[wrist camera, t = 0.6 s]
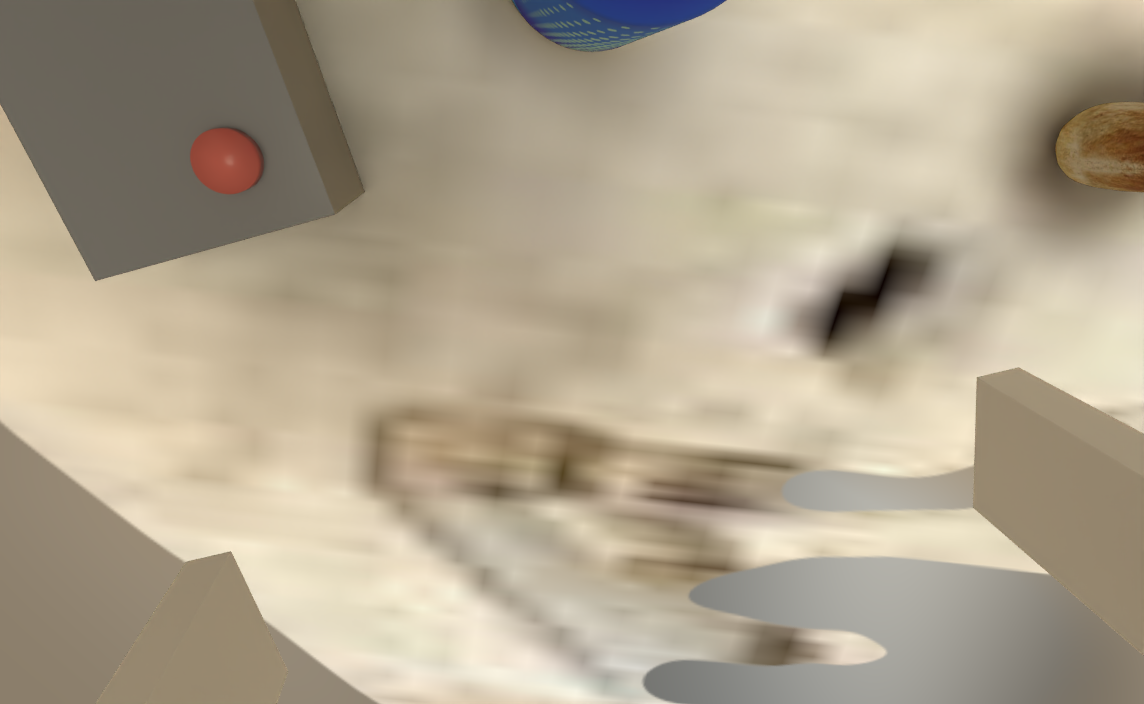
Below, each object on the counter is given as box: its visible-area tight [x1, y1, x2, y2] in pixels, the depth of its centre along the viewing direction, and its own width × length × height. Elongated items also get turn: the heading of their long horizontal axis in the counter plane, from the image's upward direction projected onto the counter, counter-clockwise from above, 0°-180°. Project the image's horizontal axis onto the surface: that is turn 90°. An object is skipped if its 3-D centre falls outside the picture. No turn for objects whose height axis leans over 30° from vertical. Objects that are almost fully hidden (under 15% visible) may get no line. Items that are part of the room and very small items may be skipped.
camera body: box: [0, 0, 365, 281], centre depth 28 cm, size 15×10×8 cm, turn 14°
